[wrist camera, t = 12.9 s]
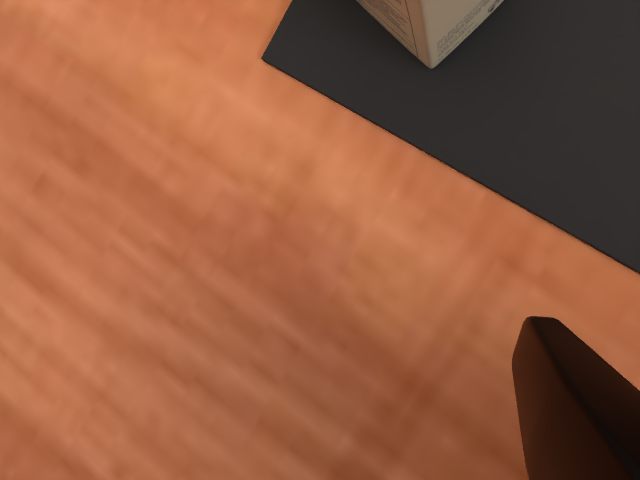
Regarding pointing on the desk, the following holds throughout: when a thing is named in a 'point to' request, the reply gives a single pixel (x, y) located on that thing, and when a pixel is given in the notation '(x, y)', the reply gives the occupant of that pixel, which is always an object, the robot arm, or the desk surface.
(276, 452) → the desk surface
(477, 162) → the mat
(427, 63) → the cosmetic box
